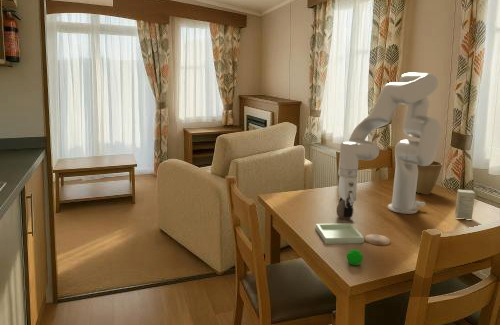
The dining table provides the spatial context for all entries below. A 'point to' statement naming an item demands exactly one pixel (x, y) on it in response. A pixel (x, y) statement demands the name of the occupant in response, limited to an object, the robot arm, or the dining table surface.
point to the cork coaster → (377, 239)
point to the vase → (342, 210)
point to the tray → (339, 233)
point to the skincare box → (464, 204)
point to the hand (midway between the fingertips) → (344, 213)
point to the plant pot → (427, 177)
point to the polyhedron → (354, 257)
